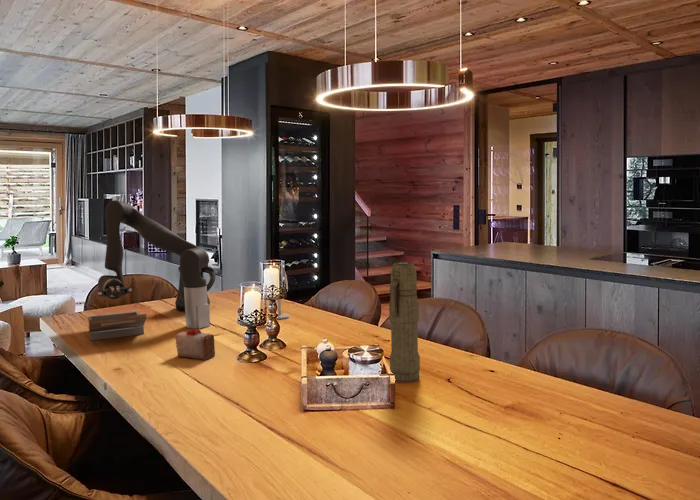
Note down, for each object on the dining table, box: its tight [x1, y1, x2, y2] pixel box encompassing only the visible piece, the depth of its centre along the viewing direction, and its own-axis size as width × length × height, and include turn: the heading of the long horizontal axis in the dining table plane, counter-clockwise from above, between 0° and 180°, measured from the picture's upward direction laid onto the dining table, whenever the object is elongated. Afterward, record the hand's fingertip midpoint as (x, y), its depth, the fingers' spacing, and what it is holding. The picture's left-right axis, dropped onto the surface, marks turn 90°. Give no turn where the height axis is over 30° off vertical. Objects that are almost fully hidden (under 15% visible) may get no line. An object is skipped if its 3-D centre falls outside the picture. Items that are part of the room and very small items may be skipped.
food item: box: [174, 328, 216, 361], centre depth 203 cm, size 14×8×10 cm, turn 64°
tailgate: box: [88, 313, 147, 333], centre depth 225 cm, size 2×20×16 cm
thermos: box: [388, 261, 421, 383], centre depth 173 cm, size 9×12×35 cm
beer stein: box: [174, 264, 216, 313], centre depth 283 cm, size 16×19×25 cm
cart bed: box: [87, 310, 145, 341], centre depth 240 cm, size 18×20×6 cm
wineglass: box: [276, 272, 291, 320], centre depth 259 cm, size 9×9×21 cm
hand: (116, 294), depth 222 cm, fingers closed
